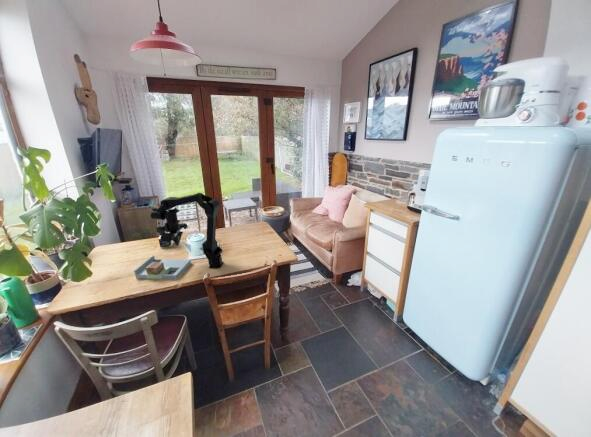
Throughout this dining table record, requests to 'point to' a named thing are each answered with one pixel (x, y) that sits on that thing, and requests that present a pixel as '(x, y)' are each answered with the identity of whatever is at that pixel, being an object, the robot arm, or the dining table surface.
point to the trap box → (170, 272)
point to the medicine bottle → (165, 243)
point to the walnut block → (155, 268)
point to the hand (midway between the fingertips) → (177, 245)
